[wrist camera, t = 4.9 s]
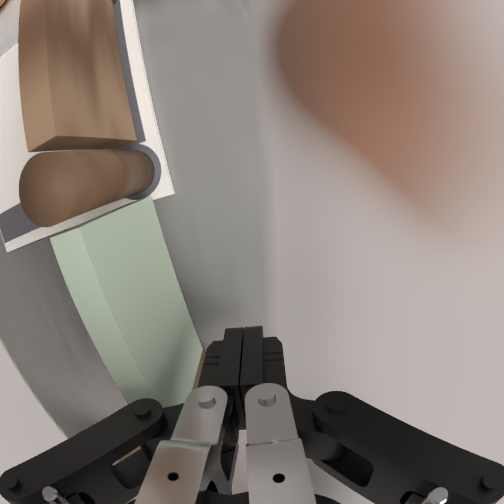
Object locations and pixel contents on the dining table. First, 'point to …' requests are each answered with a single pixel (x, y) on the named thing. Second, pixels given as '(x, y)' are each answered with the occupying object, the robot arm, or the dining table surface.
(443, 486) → the robot arm
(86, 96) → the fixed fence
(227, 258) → the dining table surface
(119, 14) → the card
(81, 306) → the swing panel
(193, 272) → the dining table surface
